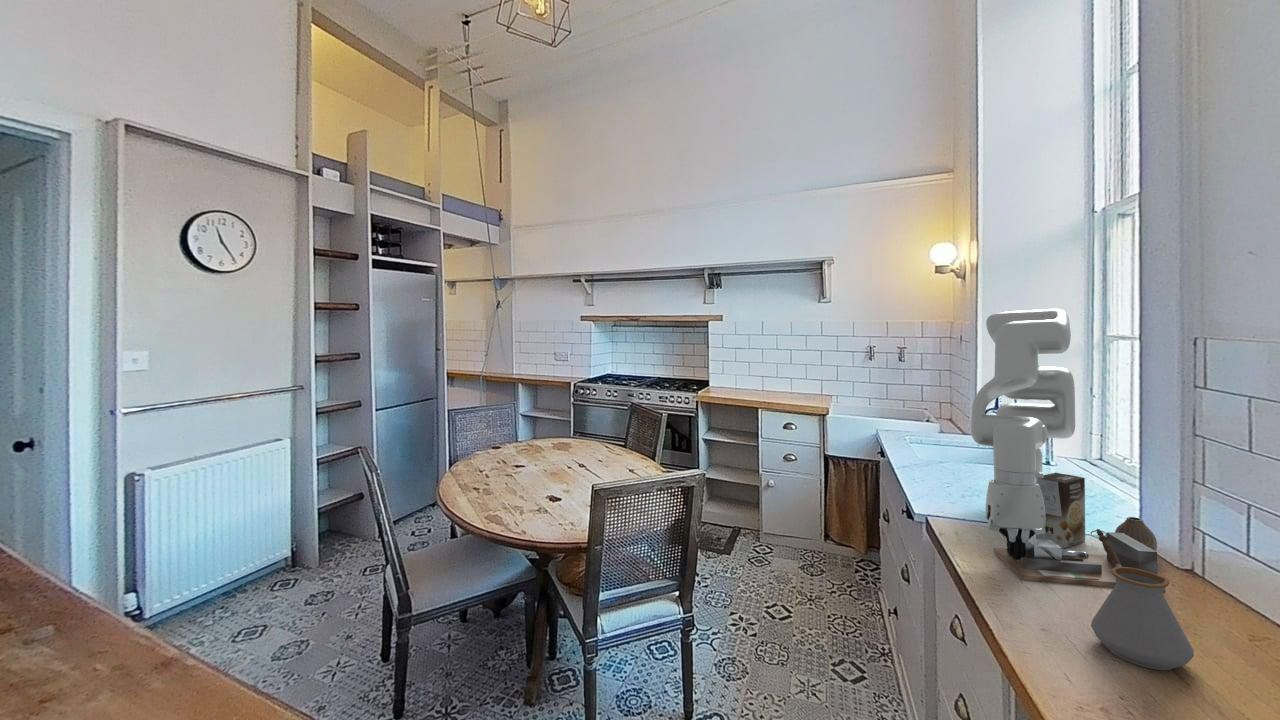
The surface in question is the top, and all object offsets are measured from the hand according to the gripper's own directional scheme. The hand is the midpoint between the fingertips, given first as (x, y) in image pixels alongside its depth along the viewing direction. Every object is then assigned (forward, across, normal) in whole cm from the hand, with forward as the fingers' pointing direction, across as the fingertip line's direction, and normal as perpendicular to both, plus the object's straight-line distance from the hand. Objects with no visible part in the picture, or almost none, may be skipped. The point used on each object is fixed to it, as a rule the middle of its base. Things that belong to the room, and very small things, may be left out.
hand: (1016, 557), depth 108 cm
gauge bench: (+2, -10, 0) cm, 10 cm away
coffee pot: (+2, -5, +26) cm, 27 cm away
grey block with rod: (+1, -8, +2) cm, 8 cm away
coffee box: (+2, -16, -17) cm, 24 cm away
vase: (+2, -27, -10) cm, 29 cm away
